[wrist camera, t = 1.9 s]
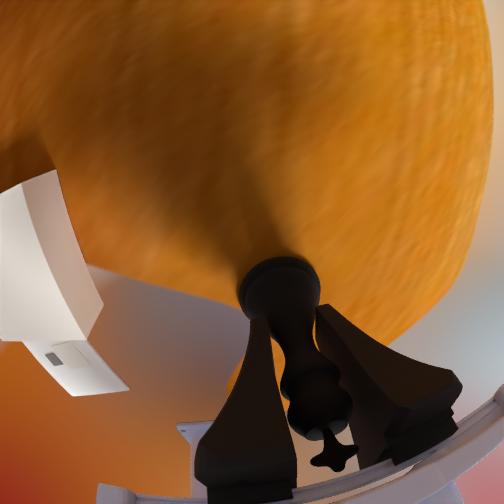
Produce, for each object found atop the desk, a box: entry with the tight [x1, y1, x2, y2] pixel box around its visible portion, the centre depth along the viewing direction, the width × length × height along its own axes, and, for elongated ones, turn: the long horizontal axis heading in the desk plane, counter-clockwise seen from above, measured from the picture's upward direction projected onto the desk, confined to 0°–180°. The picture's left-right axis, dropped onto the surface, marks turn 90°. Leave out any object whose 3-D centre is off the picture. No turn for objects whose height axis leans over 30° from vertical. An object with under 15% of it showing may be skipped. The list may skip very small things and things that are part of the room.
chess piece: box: [239, 257, 359, 472], centre depth 10 cm, size 4×4×10 cm
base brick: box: [0, 169, 104, 341], centre depth 11 cm, size 8×8×3 cm
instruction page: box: [22, 340, 131, 396], centre depth 15 cm, size 9×7×1 cm
